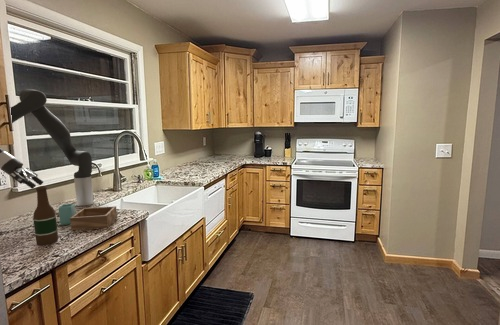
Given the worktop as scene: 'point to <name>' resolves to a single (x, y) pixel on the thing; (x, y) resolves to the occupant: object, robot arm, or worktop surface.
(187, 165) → the worktop surface
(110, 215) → the walnut crate
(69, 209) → the teal rectangular block
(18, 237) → the worktop surface
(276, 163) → the worktop surface
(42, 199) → the beer bottle
